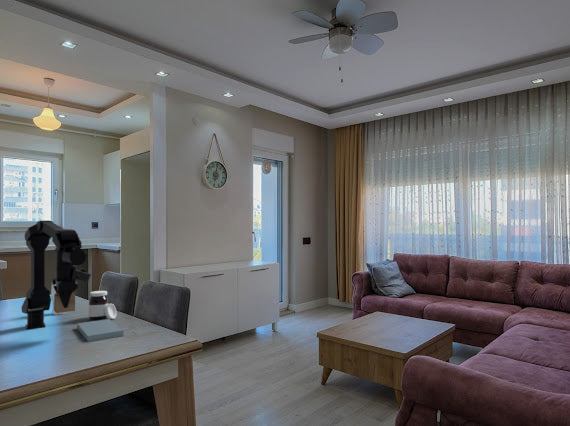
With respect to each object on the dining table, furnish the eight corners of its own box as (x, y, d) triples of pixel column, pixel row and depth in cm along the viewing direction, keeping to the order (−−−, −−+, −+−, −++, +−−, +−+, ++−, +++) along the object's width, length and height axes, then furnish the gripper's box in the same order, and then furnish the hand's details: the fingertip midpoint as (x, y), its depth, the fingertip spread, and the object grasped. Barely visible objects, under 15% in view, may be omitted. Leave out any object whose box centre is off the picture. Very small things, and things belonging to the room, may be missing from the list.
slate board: (77, 328, 153) (77, 323, 153) (109, 323, 160) (109, 318, 160) (87, 341, 135) (87, 336, 135) (123, 335, 142) (123, 330, 143)
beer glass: (71, 312, 180) (71, 281, 181) (55, 315, 175) (56, 282, 175) (63, 311, 184) (63, 279, 185) (47, 314, 178) (48, 281, 179)
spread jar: (90, 316, 173) (90, 290, 173) (117, 314, 177) (117, 289, 178) (87, 322, 162) (87, 295, 162) (116, 320, 166) (116, 293, 166)
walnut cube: (53, 310, 141) (54, 293, 141) (72, 308, 145) (72, 292, 145) (56, 313, 136) (56, 296, 137) (74, 310, 140) (75, 294, 140)
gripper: (94, 264, 139) (93, 307, 138) (84, 260, 154) (84, 299, 153) (58, 266, 132) (58, 311, 131) (52, 262, 147) (51, 303, 146)
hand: (64, 306), depth 141 cm, fingers closed on walnut cube, 6 cm apart
